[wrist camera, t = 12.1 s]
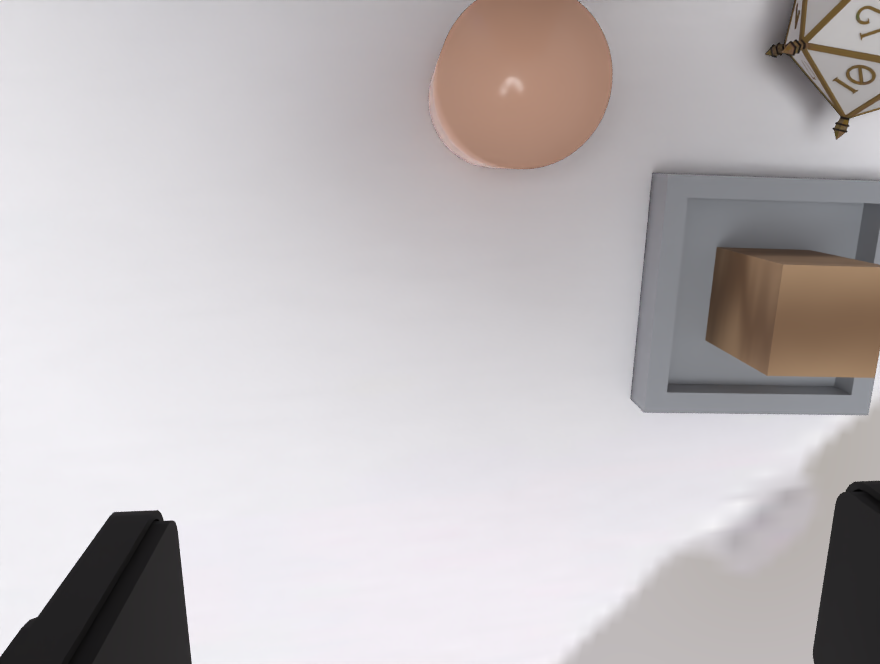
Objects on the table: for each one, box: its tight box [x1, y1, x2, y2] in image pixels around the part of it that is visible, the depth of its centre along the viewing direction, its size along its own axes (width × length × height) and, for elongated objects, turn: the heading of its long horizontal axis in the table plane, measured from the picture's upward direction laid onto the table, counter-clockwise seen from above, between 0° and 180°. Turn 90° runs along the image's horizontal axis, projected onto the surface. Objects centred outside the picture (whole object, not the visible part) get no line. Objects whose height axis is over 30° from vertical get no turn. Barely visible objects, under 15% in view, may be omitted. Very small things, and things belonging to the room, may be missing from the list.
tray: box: [631, 173, 880, 415], centre depth 34 cm, size 11×11×2 cm
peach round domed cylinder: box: [428, 0, 612, 169], centre depth 28 cm, size 6×6×8 cm
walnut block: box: [705, 247, 880, 378], centre depth 31 cm, size 4×4×6 cm
